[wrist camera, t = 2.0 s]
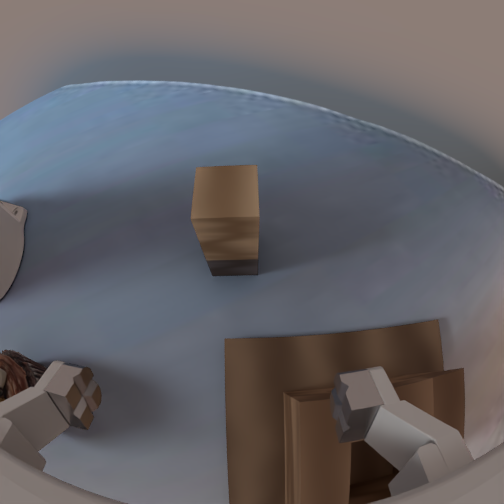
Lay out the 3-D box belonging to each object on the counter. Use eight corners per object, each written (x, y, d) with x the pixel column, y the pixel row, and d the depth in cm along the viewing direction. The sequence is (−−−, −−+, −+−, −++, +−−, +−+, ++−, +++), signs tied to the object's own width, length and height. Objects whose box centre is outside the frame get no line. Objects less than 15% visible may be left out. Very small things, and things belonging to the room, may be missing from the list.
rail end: (212, 275, 28) (190, 218, 18) (214, 236, 30) (196, 167, 20) (257, 275, 28) (259, 216, 18) (256, 235, 30) (257, 164, 20)
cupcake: (55, 347, 25) (-6, 329, 15) (78, 430, 21) (17, 439, 12) (9, 363, 23) (-47, 348, 14) (27, 435, 19) (-30, 438, 10)
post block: (233, 536, 16) (224, 594, 7) (226, 340, 26) (209, 319, 16) (430, 497, 16) (483, 522, 7) (430, 322, 26) (493, 293, 16)
